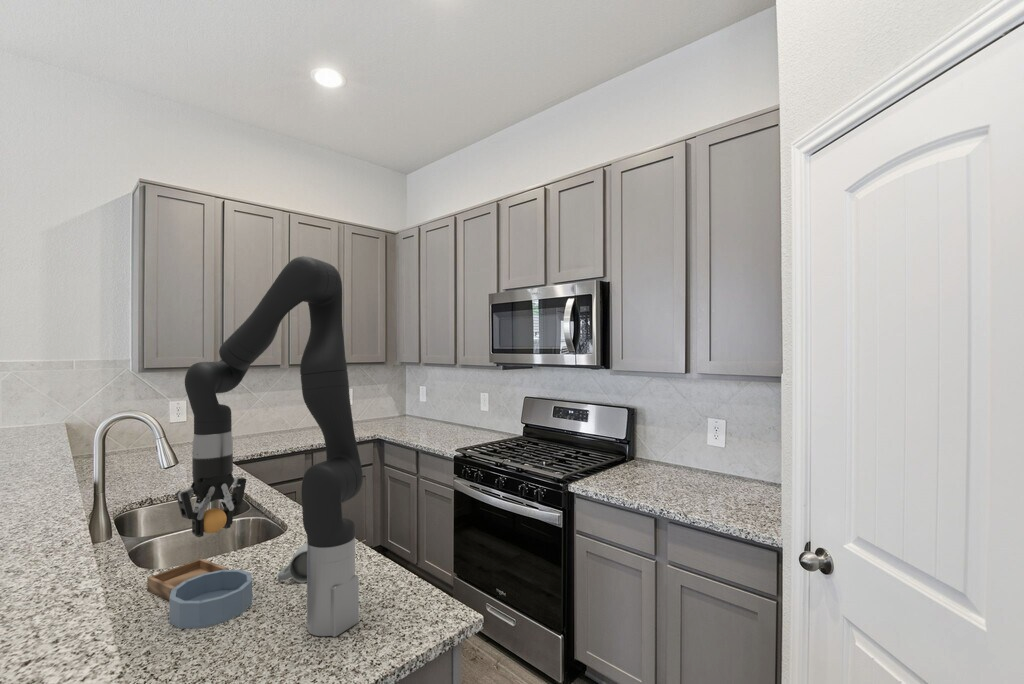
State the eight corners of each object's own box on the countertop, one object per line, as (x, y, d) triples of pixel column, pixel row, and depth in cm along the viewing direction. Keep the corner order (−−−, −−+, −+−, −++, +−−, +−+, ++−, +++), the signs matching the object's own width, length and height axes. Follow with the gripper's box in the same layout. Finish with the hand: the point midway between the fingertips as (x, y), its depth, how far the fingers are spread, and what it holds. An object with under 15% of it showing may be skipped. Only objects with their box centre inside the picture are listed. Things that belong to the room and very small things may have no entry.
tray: (228, 581, 118) (228, 568, 118) (174, 603, 107) (174, 590, 107) (201, 570, 123) (201, 558, 124) (147, 590, 113) (147, 577, 113)
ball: (231, 530, 106) (231, 506, 106) (207, 538, 102) (207, 514, 102) (218, 526, 109) (218, 503, 109) (193, 534, 104) (193, 510, 104)
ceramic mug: (325, 566, 125) (325, 536, 125) (322, 580, 117) (322, 549, 118) (280, 572, 122) (280, 542, 122) (274, 588, 114) (274, 555, 115)
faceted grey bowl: (266, 601, 108) (266, 578, 108) (194, 636, 95) (194, 610, 95) (227, 585, 115) (227, 564, 115) (155, 615, 102) (155, 591, 102)
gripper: (186, 461, 98) (186, 546, 97) (254, 448, 110) (255, 524, 110) (167, 458, 101) (167, 540, 101) (235, 446, 114) (235, 519, 113)
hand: (213, 531), depth 105 cm, fingers closed on ball, 5 cm apart
